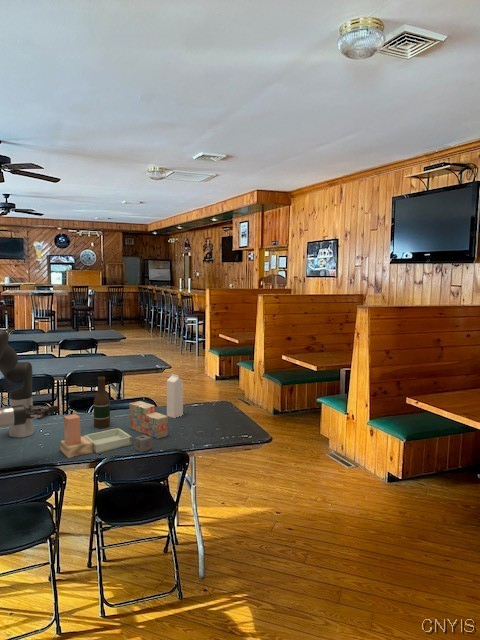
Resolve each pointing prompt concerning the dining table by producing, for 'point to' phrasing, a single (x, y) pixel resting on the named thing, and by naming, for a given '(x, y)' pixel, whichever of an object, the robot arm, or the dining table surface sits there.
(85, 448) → the cream wooden slab
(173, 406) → the milk
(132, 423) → the stack of blocks
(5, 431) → the dining table surface
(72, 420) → the terracotta block
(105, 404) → the beer bottle
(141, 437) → the dice cube
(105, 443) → the tray
